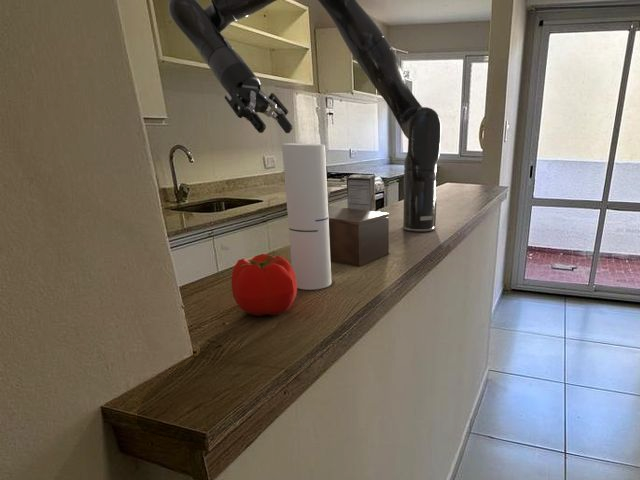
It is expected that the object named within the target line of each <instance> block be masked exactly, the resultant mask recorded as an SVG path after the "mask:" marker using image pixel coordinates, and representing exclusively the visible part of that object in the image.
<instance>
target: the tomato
mask: <svg viewBox="0 0 640 480" xmlns="http://www.w3.org/2000/svg"><path fill="white" fill-rule="evenodd" d="M230 279H231V284H230V285H231V286H230V287H231V292H232V296H233V299H234V301H235V303H236V304H237V305H238V306H239V308H240V309H241V310H242V311H243V312H246V313H248V314H250V315H251V316H255V317H257V316H258V317H262V316H265V315H269V316H278V315H280V314H282V313H284V312H286V311H288V310H289V309H290V308H292V305H293V302H294V301H295V299H296V296H297V293H298V288H297V281H296V276H295V274H294V271H293V269H292V264H291V263H290V262H289V261H288V259H287V258H285V257H283V256H280V255H276V256H275V257H274V254H273V255H271V254H265V253H261V254H258V255H255V256H253V257H252V258H250V259H247V258H240V259H238V260H237V261H236V263H235V265H234V266H233V269H232V274H231V278H230Z"/></svg>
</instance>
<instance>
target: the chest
mask: <svg viewBox="0 0 640 480" xmlns="http://www.w3.org/2000/svg"><path fill="white" fill-rule="evenodd" d="M389 231H390V217H386V218H383V219H379V220H376V221H373V222H369V223H366V224H363V225H359V226H357V225H350V224H343V223H335V222H329V239H330V260H331V262H334V263H339V264H344V265H349V266H356V267H361V266H363V265H366V264H368V263H370V262H373V261H375V260H377V259H381V258H382V257H384V256H386V255H389V254H390V248H389V247H390V246H389V245H390V242H389V241H390V238H389V237H390V234H389V233H390V232H389Z"/></svg>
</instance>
